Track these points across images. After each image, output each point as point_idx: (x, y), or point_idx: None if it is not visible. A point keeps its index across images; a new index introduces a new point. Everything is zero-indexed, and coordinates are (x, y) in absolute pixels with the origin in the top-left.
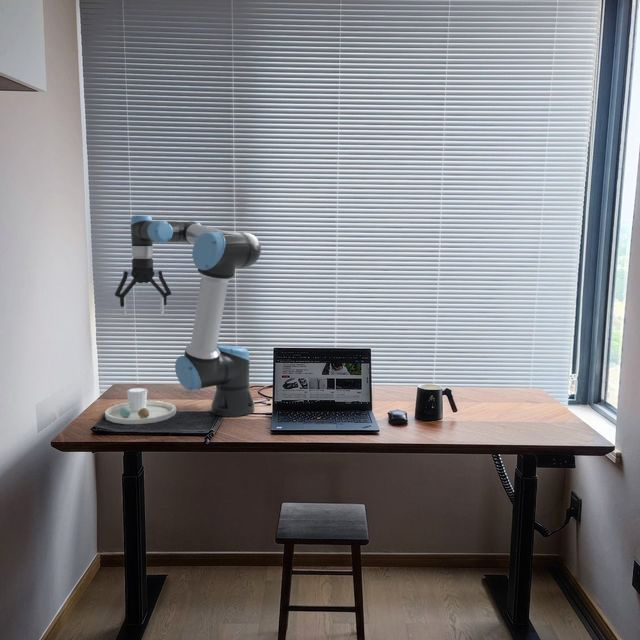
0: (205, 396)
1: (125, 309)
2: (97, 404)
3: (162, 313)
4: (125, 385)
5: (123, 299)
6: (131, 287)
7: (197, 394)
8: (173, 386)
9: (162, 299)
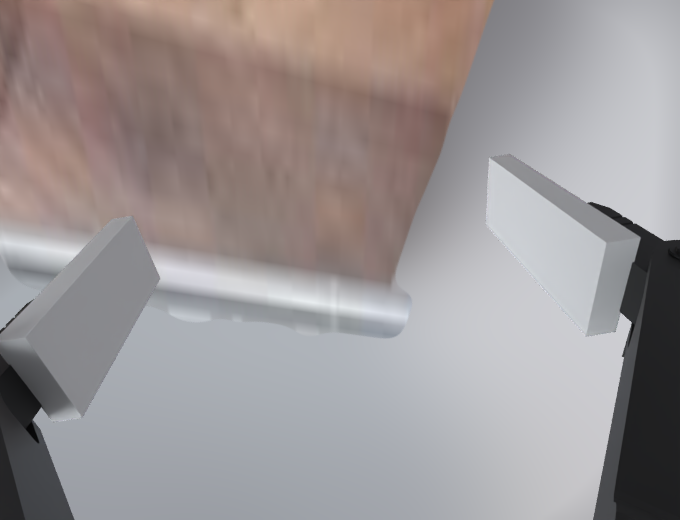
0: (78, 52)
1: (532, 177)
2: (478, 30)
3: (123, 220)
4: (371, 266)
5: (626, 253)
6: (645, 410)
7: (117, 94)
8: (220, 227)
9: (33, 314)
